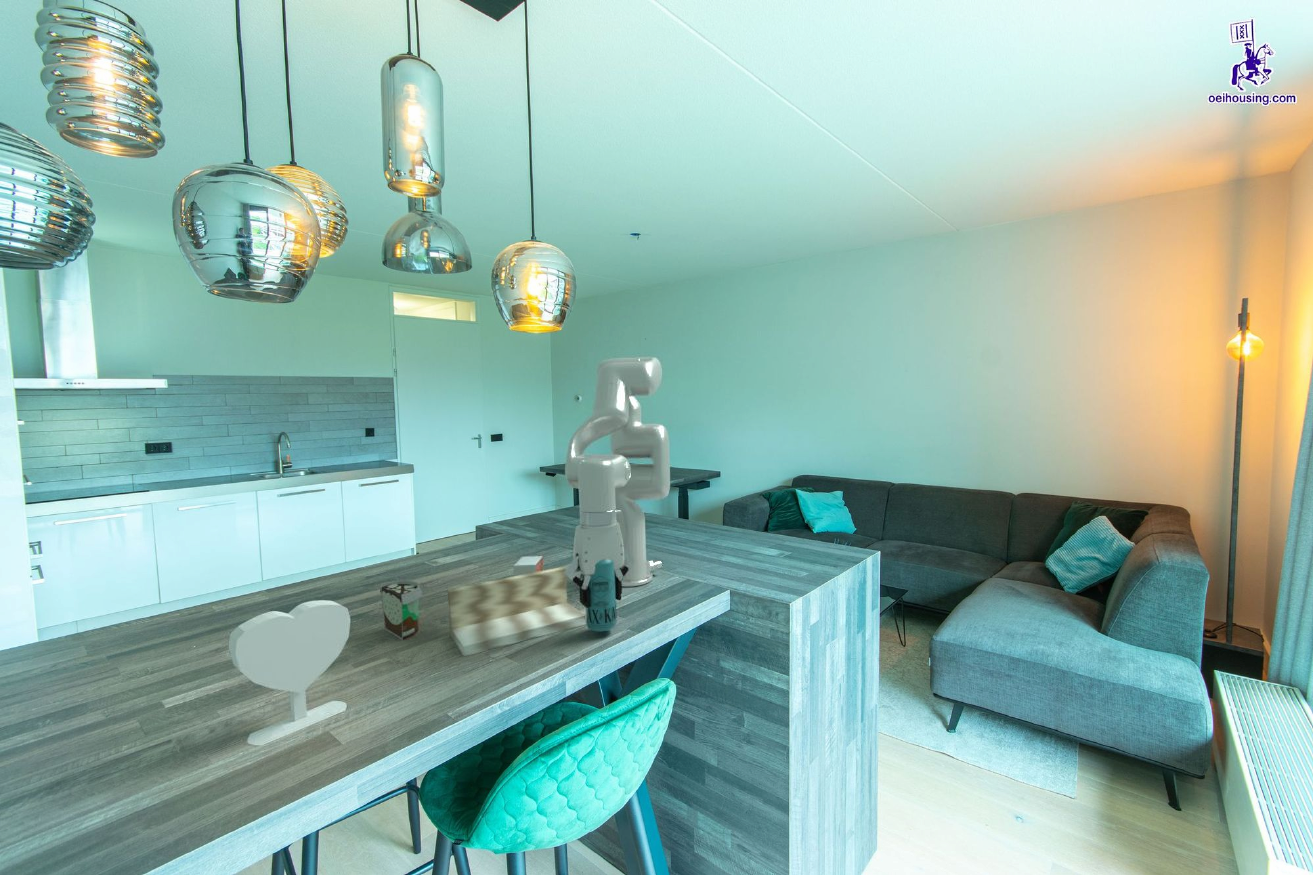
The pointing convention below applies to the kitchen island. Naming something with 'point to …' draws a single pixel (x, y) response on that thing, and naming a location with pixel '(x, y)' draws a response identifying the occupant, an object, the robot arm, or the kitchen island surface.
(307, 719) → the heart sculpture
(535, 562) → the small box
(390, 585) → the food container
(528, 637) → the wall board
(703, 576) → the kitchen island surface
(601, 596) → the beverage bottle
